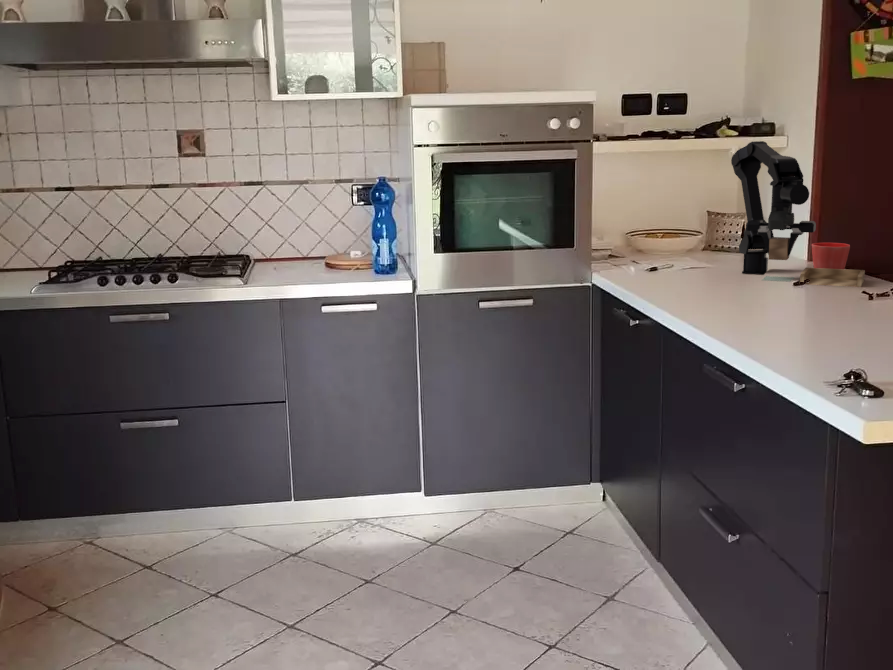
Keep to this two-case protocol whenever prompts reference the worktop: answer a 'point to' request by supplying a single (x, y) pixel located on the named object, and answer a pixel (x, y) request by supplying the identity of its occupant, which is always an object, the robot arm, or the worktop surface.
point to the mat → (777, 278)
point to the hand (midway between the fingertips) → (779, 255)
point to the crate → (833, 277)
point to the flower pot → (830, 255)
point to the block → (778, 248)
